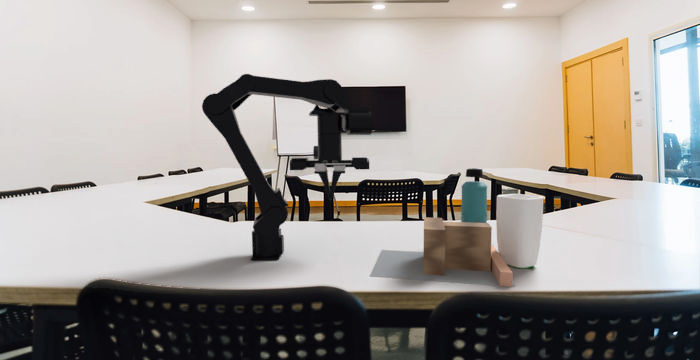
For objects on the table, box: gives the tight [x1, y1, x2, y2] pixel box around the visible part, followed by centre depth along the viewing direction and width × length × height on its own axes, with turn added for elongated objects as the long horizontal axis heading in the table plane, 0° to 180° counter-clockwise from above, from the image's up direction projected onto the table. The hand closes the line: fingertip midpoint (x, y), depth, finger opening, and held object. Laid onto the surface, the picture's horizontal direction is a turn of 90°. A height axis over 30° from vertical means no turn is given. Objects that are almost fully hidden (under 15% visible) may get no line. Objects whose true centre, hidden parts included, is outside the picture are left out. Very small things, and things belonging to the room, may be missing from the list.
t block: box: [423, 216, 492, 276], centre depth 70 cm, size 13×12×9 cm
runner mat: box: [369, 244, 516, 288], centre depth 71 cm, size 26×18×3 cm
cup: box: [495, 193, 544, 269], centre depth 71 cm, size 7×7×15 cm
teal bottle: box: [460, 167, 489, 223], centre depth 87 cm, size 6×7×20 cm
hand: (330, 199), depth 82 cm, fingers closed
